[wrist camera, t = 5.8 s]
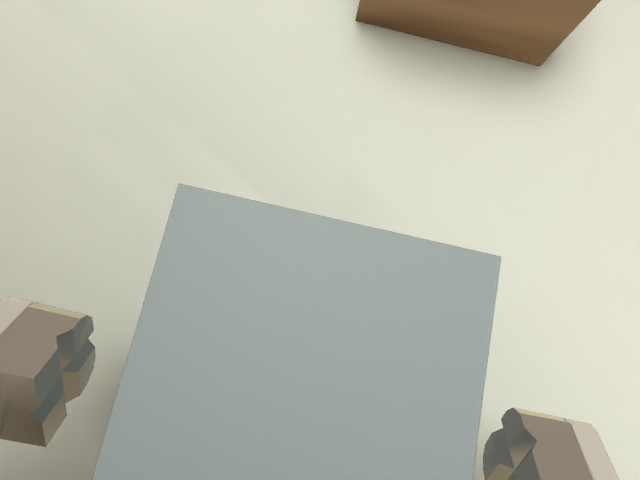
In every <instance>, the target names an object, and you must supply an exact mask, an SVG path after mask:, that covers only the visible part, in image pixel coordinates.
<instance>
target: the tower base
mask: <svg viewBox="0 0 640 480" xmlns="http://www.w3.org/2000/svg"><path fill="white" fill-rule="evenodd" d="M600 1H601V0H360V3H359V7H358V12H357V16H356V20H355V21H359V22H363V23H367V24H371V25H375V26H379V27H383V28H387V29H391V30H395V31H400V32H404V33H408V34H412V35H416V36H420V37H424V38H428V39H432V40H436V41H440V42H444V43H448V44H452V45H456V46H460V47H464V48H468V49H472V50H476V51H480V52H484V53H488V54H492V55H497V56H501V57H505V58H509V59H513V60H517V61H521V62H525V63H529V64H533V65H537V66H540V65H541V64H542V63H543V62H544V61H545V60H546V59H547V58H548V57H549V56H550V54H551V53H552V52H553V51H554V50H555V49H556V48H557V47H558V46H559V45H560V44H561V43H562V42H563V41H564V39H565V38H566V37H567V36H568V35H569V34H570V33H571V32H572V31H573V30H574V29H575V28H576V27H577V26H578V24H579V23H580V22H581V21H582V20H583V19H584V18H585V17H586V16H587V15H588V14H589V13H590V12H591V11H592V9H593V8H594V7H595V6H596V5H597V4H598V3H599V2H600Z"/></svg>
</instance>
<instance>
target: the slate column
mask: <svg viewBox="0 0 640 480" xmlns="http://www.w3.org/2000/svg"><path fill="white" fill-rule="evenodd" d="M500 262H501V256H496V255H492V254H488V253H483V252H479V251H474V250H470V249H466V248H461V247H457V246H452V245H448V244H444V243H439V242H435V241H430V240H426V239H421V238H417V237H413V236H408V235H404V234H399V233H395V232H391V231H386V230H382V229H377V228H373V227H369V226H364V225H360V224H355V223H351V222H346V221H342V220H338V219H333V218H329V217H324V216H320V215H316V214H311V213H307V212H302V211H298V210H294V209H289V208H285V207H280V206H276V205H271V204H267V203H263V202H258V201H254V200H249V199H245V198H241V197H236V196H232V195H227V194H223V193H219V192H214V191H210V190H205V189H201V188H196V187H192V186H188V185H183V184H178V187H177V191H176V194H175V198H174V201H173V204H172V208H171V211H170V215H169V218H168V222H167V225H166V228H165V232H164V235H163V239H162V242H161V245H160V249H159V252H158V256H157V259H156V262H155V266H154V269H153V273H152V276H151V279H150V283H149V286H148V290H147V293H146V296H145V300H144V303H143V307H142V310H141V313H140V317H139V320H138V324H137V327H136V330H135V334H134V337H133V341H132V344H131V348H130V351H129V354H128V358H127V361H126V365H125V368H124V371H123V375H122V378H121V382H120V385H119V388H118V392H117V395H116V399H115V402H114V405H113V409H112V412H111V416H110V419H109V422H108V426H107V429H106V433H105V436H104V439H103V443H102V446H101V450H100V453H99V456H98V460H97V463H96V467H95V470H94V473H93V477H92V480H472V477H473V469H474V461H475V454H476V446H477V438H478V431H479V423H480V415H481V408H482V400H483V392H484V385H485V377H486V370H487V362H488V354H489V347H490V339H491V331H492V324H493V316H494V308H495V301H496V293H497V285H498V278H499V270H500Z"/></svg>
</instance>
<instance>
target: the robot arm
mask: <svg viewBox="0 0 640 480" xmlns="http://www.w3.org/2000/svg"><path fill="white" fill-rule="evenodd" d="M93 330H94V329H93V321H92V317H90V316H88V315H85V314H81V313H77V312H72V311H68V310H64V309H60V308H56V307H52V306H48V305H44V304H40V303H34V302H30V301H26V300H22V299H18V298H13V297H7V298H4V299H2V300H0V439H4V440H10V441H15V442H21V443H26V444H32V445H37V446H43V447H46V446H47V445H48V443H49V442H50V440H51V439H52V437H53V436H54V434H55V433H56V431H57V430H58V428H59V427H60V425H61V424H62V422H63V420H64V419H65V417H66V416H67V412H66V404H65V403H67V402H69V401H70V400H72V399H74V398H76V397H78V396H79V395H80V394H81V393H82V391H83V389H84V388H85V386H86V385H87V383H88V381H89V378H90V376H91V373H92V370H93V368H94V362H95V346H94V345H93V344H92V343H91V342H90V341H89V339H88V337H89V336H90V335H91V333H92V332H93ZM501 420H502V424H503V428H502V429H500V430H498V431H496V432H493V433H492V434H491V436H490V437H489V439H488V441H487V442H486V445H485V450H484V455H483V470H484V475H485V480H619V478H618V476H617V474H616V471H615V469H614V467H613V465H612V463H611V460H610V458H609V456H608V454H607V452H606V450H605V447H604V445H603V443H602V441H601V439H600V437H599V434H598V432H597V431H596V429H595V428H594V427H593V426H592V425H591V424H588V423H583V422H579V421H574V420H569V419H562V418H560V417H556V416H551V415H546V414H542V413H537V412H532V411H527V410H522V409H517V408H511V409H509V410H507V411H506V413H505V414H504V416H503V417H502V419H501Z"/></svg>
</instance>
